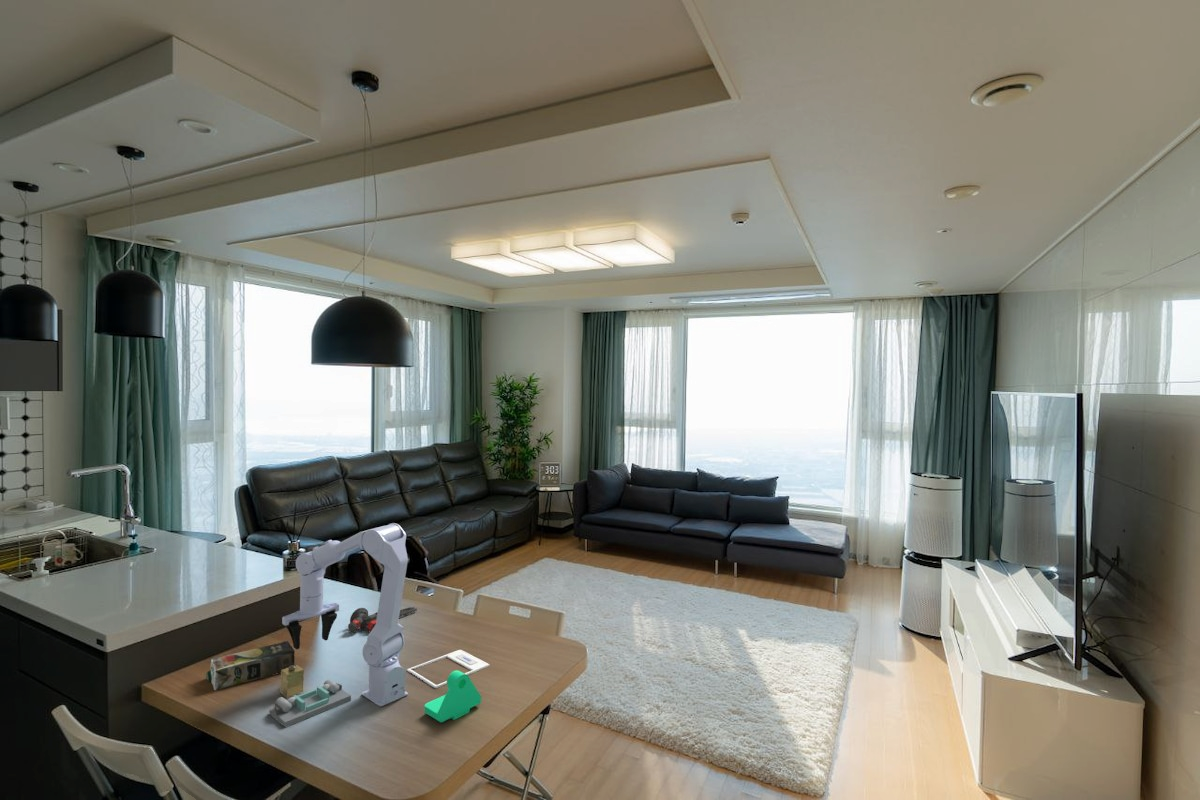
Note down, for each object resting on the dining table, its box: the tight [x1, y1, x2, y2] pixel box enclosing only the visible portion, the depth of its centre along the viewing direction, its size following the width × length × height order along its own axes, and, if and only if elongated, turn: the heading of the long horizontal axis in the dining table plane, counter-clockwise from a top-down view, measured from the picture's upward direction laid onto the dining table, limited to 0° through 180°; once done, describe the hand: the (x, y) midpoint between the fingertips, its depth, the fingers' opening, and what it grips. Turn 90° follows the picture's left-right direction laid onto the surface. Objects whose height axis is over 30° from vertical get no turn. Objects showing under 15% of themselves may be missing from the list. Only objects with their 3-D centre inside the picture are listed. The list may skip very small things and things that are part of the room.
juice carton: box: [205, 640, 296, 691], centre depth 159 cm, size 20×10×6 cm, turn 130°
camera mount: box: [424, 669, 482, 723], centre depth 142 cm, size 12×8×10 cm, turn 140°
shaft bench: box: [268, 679, 352, 728], centre depth 143 cm, size 9×16×4 cm, turn 141°
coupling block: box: [280, 664, 305, 698], centre depth 150 cm, size 4×4×7 cm
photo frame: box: [406, 649, 491, 689], centre depth 165 cm, size 15×1×18 cm
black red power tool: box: [347, 606, 418, 633], centre depth 196 cm, size 6×26×15 cm
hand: (311, 643), depth 157 cm, fingers open, 7 cm apart
